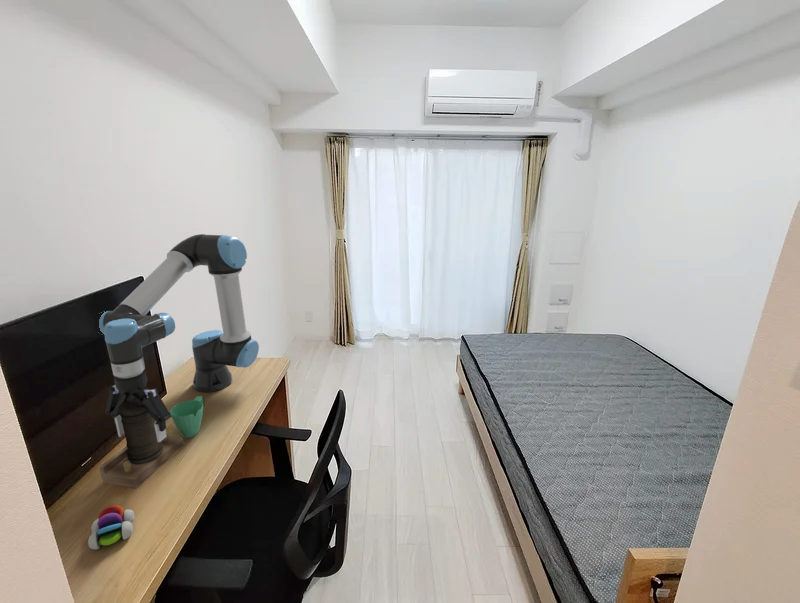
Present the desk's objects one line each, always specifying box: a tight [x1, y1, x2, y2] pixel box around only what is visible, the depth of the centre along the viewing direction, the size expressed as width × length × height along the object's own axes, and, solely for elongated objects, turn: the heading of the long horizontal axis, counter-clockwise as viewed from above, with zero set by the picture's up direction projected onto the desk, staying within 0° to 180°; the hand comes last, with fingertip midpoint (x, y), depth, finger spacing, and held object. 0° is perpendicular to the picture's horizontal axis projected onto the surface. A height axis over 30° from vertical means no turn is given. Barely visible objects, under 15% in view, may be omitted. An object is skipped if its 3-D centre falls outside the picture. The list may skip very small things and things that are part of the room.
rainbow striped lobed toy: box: [87, 504, 135, 551], centre depth 92 cm, size 8×10×7 cm
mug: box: [169, 395, 205, 438], centre depth 133 cm, size 15×10×10 cm
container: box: [118, 398, 163, 464], centre depth 114 cm, size 9×9×18 cm
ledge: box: [99, 434, 184, 489], centre depth 117 cm, size 19×11×6 cm, turn 171°
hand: (142, 436), depth 115 cm, fingers open, 12 cm apart
